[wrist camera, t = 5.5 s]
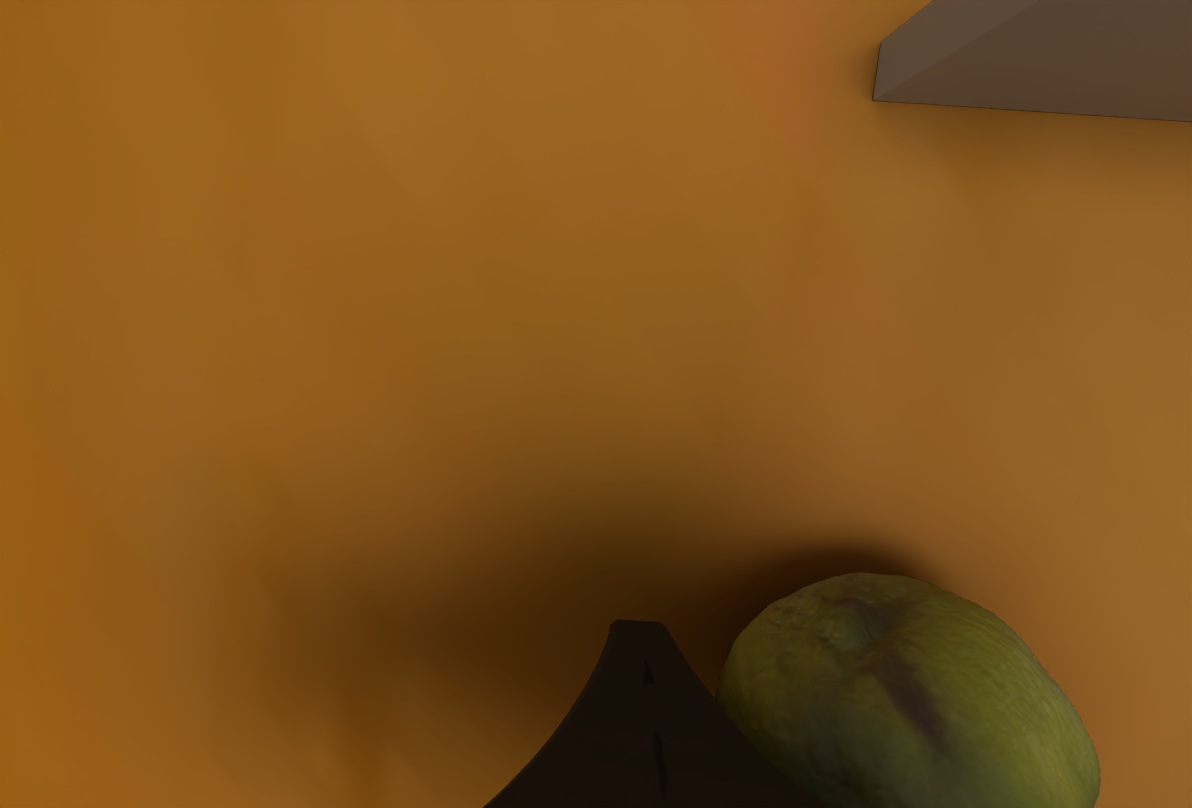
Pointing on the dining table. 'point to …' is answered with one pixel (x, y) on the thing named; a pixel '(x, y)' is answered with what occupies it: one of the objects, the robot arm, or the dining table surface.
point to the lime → (904, 701)
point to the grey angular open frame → (1044, 57)
